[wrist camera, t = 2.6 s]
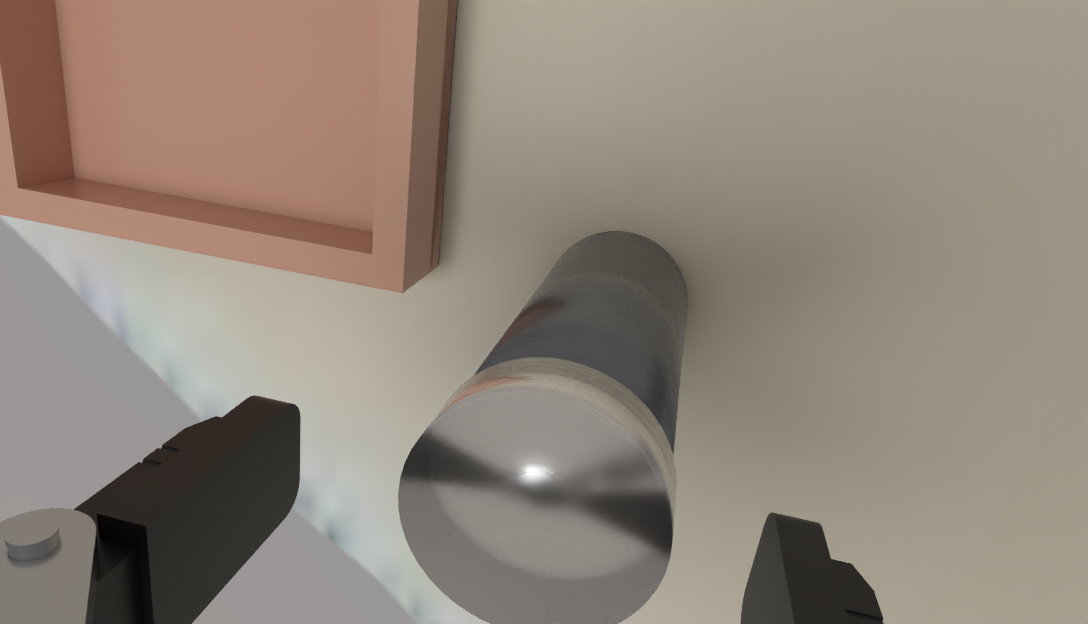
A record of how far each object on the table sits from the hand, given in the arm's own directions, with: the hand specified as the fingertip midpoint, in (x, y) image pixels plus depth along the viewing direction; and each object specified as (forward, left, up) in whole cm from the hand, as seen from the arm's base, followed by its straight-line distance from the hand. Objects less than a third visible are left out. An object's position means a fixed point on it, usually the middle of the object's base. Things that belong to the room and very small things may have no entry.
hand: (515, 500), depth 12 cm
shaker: (0, 0, -12) cm, 12 cm away
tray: (+13, -6, -12) cm, 18 cm away
